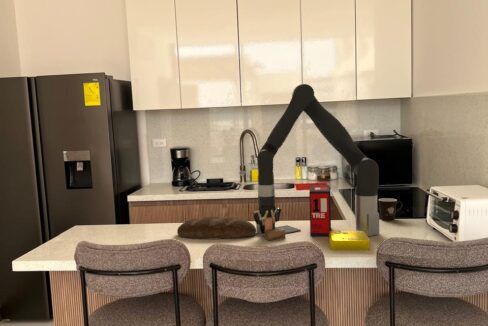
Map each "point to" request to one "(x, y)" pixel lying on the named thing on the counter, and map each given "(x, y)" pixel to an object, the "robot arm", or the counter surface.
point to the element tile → (348, 240)
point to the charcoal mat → (288, 229)
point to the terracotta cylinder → (268, 224)
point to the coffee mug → (388, 208)
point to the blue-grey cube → (258, 229)
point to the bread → (216, 228)
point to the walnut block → (275, 234)
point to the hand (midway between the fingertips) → (267, 232)
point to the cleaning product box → (320, 211)
